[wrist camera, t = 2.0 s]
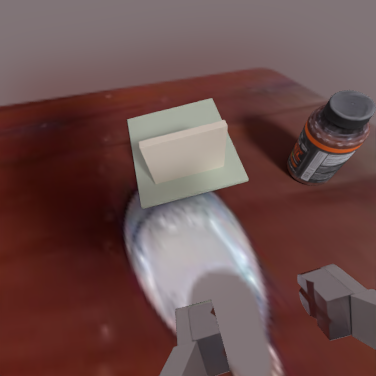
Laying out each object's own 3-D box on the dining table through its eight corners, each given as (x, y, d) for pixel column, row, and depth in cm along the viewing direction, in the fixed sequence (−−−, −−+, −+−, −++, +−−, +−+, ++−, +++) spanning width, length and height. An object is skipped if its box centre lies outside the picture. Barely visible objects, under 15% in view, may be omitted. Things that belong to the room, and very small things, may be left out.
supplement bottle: (283, 150, 33) (314, 82, 23) (327, 151, 32) (378, 81, 22) (287, 186, 30) (324, 125, 20) (335, 188, 29) (398, 126, 19)
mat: (142, 209, 30) (141, 207, 30) (128, 121, 39) (127, 119, 38) (248, 181, 31) (248, 179, 31) (212, 100, 39) (211, 98, 39)
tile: (155, 184, 32) (139, 148, 25) (154, 177, 32) (138, 140, 25) (223, 166, 32) (227, 126, 25) (221, 159, 33) (223, 118, 26)
